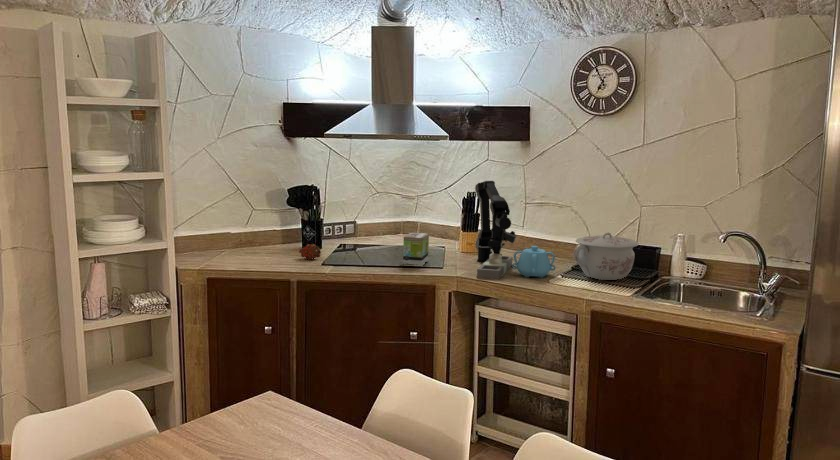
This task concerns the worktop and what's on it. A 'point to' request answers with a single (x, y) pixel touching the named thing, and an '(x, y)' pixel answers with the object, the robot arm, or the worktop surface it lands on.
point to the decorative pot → (534, 262)
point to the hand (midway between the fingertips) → (497, 258)
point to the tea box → (415, 248)
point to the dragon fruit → (310, 251)
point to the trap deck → (494, 269)
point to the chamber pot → (605, 256)
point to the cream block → (495, 258)
